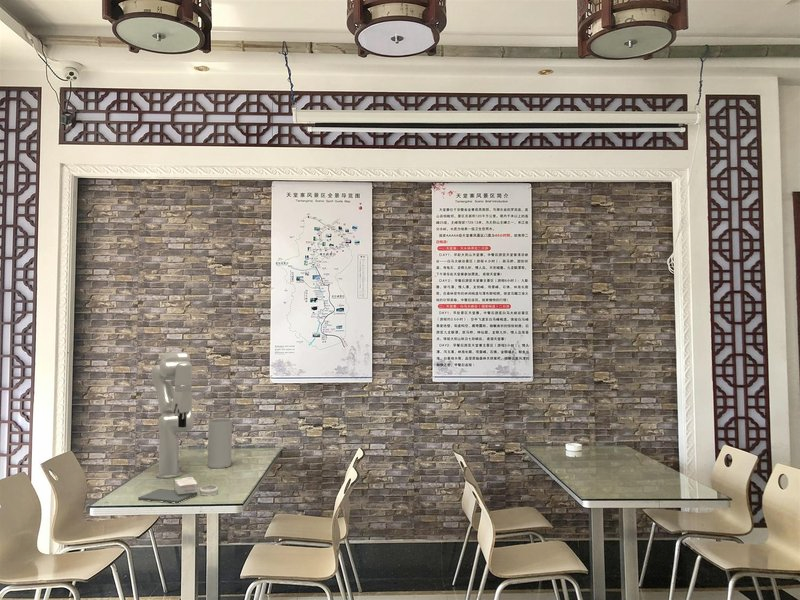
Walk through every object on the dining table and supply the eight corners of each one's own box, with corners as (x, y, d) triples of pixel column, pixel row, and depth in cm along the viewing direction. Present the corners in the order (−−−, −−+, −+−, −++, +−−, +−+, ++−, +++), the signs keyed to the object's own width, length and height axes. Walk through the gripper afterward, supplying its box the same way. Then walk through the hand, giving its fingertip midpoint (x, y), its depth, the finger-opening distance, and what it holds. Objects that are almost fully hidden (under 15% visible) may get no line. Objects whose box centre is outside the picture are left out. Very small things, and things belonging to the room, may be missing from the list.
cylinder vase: (234, 463, 342) (235, 419, 343) (225, 469, 329) (226, 422, 330) (213, 463, 343) (214, 418, 344) (203, 468, 331) (204, 422, 332)
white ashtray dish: (205, 490, 287) (205, 484, 287) (220, 491, 285) (221, 486, 285) (196, 495, 279) (196, 489, 279) (211, 496, 277) (211, 490, 277)
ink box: (173, 489, 285) (178, 496, 272) (173, 478, 285) (178, 485, 272) (192, 487, 289) (198, 494, 276) (193, 476, 289) (198, 483, 276)
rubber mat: (159, 491, 285) (159, 488, 285) (197, 494, 280) (197, 492, 280) (138, 500, 270) (138, 497, 270) (177, 503, 265) (177, 501, 265)
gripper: (185, 386, 300) (184, 424, 300) (166, 390, 286) (165, 429, 285) (198, 387, 298) (197, 424, 298) (181, 390, 284) (180, 430, 283)
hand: (182, 426), depth 291 cm, fingers closed
